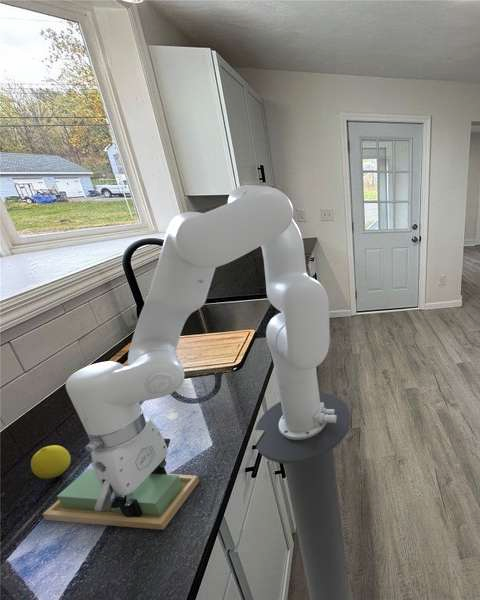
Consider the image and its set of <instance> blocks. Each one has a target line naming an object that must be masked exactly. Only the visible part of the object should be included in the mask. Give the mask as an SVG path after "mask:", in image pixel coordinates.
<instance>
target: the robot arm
mask: <svg viewBox="0 0 480 600" xmlns="http://www.w3.org/2000/svg"><path fill="white" fill-rule="evenodd" d="M293 218H294V207H293V205H292V202H291V200H290V199H289V197H288V196H287V195H286V194H285V193H283V192H282V191H281V190H280V189H278V188H276V187H272V186H267V185H258V184H257V185H256V184H244V185H239V186H237V187H235V188H234V189H232V191H231V192H230V193H229V196H228V199H227V202H226V203H225V204H223V205H220V206H218V207H215V208H214V209H211V210H209V211H206V212H198V211H186V212H182V213H179V214H178V215H176V216H175V217H173V219H172V220H171V221H170V223H169V226H168V227H167V229H166V234H165V237H164V240H163V244H162V247H161V250H160V253H159V257H158V261H157V263H156V268H155V271H154V274H153V277H152V281H151V284H150V287H149V290H148V294H147V296H146V298H145V301H144V304H143V307H142V309H141V311H140V314H139V317H138V319H137V322H136V326H135V329H134V331H133V335H132V339H131V342H130V346H129V350H128V354H127V366H125V365H123V364H122V363H120V362H117V361H110V360H109V361H101V362H97V363H93V364H90V365H87V366H85V367H82V368H80V369H79V370H76V371H75V372H73V373H72V374H71V375H70V376H68V378H67V379H66V381H65V390H66V392H67V395H68V396H69V398H70V401H71V403H72V405H73V407H74V409H75V412H76V413H77V416H78V417H79V420H80V422H81V424H82V426H83V428H84V430H85V432H86V434H87V438H88V440H89V442H88V443H87V445H86V446H84V449H85V451H86V452H88V453H90V455H91V457H90V458H91V462H92V467H93V469H94V471H95V475H96V477H97V480H98V483H99V485H100V487H101V491H100V494H99V497H98V500H97V502H96V505H95V508H94V510H96V511H105V510H108V509H111V508H118V507H120V509H121V511H122V513H123V515H124V516H125V517H131V516H136V517H140V516H141V514H142V511H141V508H140V506H139V504H138V501H137V499H133V491H134V490H136V489H137V488H138V487H139V486H140V484H141V483H142V482H143V481H144V480H145V479H146V478H147V477H148V476H149V475H150V474H165V475H167V474H168V472H167V470H166V468H165V467H166V466H167V460H166V458H167V455H168V453H169V451H168V449H169V446H170V443H171V438H165V437H163V435H162V434H161V433H162V432H161V431H160V430H159V428H158V427H157V425H156V424H155V422H153V420H152V419H151V418H150V417H148V416H145V415H144V412H143V409H142V406H141V404H140V402H146V401H150V400H151V401H152V400H156V399H160V398H164V397H166V396H169V395H171V394H173V393H175V392H176V391H177V390H179V389H180V388H181V386H182V385H183V383H184V381H185V375H186V374H185V369H184V366H183V365H182V362H181V360H180V358H179V356H178V353H177V348H178V345H179V341H180V338H181V335H182V331H183V329H184V326H185V324H186V321H187V320H188V318H189V317H190V316H191V315H192V314H193V313H194V312H196V311H198V310H199V309H201V308H202V307H204V305H205V304H206V301H207V298H208V294H209V291H210V288H211V284H212V281H213V278H214V274H215V272H216V268H218V267H222V266H225V265H226V264H229V263H231V262H233V261H235V260H238V259H239V258H241V257H243V256H245V255H246V254H249V253H250V252H253V251H254V250H256V249H258V248H261V251H262V257H263V265H264V276H265V289H266V290H265V291H266V297H267V299H268V302H269V303H270V304H271V305H272V306H273V307H274V308H275V309H276V310H278V311H279V313H277V314H275V315H274V316H273V317H272V318H271V319H270V320H269V322H268V323H267V326H266V330H265V337H266V342H267V346H268V349H269V353H270V355H271V358H272V359H271V360H272V362H273V367H274V372H275V377H276V382H277V388H278V394H279V399H280V400H279V401H281V405H282V411H283V416H282V417H281V419H280V421H279V431H280V433H281V434H282V435H283V436H284V437H286V438H288V439H292V440H302V439H306V438H310V437H312V436H314V435H316V434H317V433H319V432H320V431H321V430H322V429H323V428H324V427H325V425H326V424H327V422H329V423H336V420H337V416H336V415H334V412H335V410H334V409H326V408H324V403H323V402H320V397H319V392H320V389H319V382H318V373H317V367H318V366H320V365H321V363H323V361H324V360H325V359H326V358H327V355H328V353H329V350H330V340H331V339H330V338H331V337H330V335H331V334H330V332H331V331H330V330H331V329H330V302H329V298H328V294H327V291H326V289H325V287H324V286H323V285H322V284H321V283H320V282H319V281H318V280H317V279H315V278H313V277H311V276H309V275H308V272H307V271H308V270H307V265H306V255H305V246H304V239H303V236H302V233H301V231H300V228H299V227H298V225H297V223H296V221H295V220H294V219H293ZM328 414H329V415H328ZM112 493H113V499H110V498H111V495H112ZM122 495H124V497H122Z"/></svg>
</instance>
